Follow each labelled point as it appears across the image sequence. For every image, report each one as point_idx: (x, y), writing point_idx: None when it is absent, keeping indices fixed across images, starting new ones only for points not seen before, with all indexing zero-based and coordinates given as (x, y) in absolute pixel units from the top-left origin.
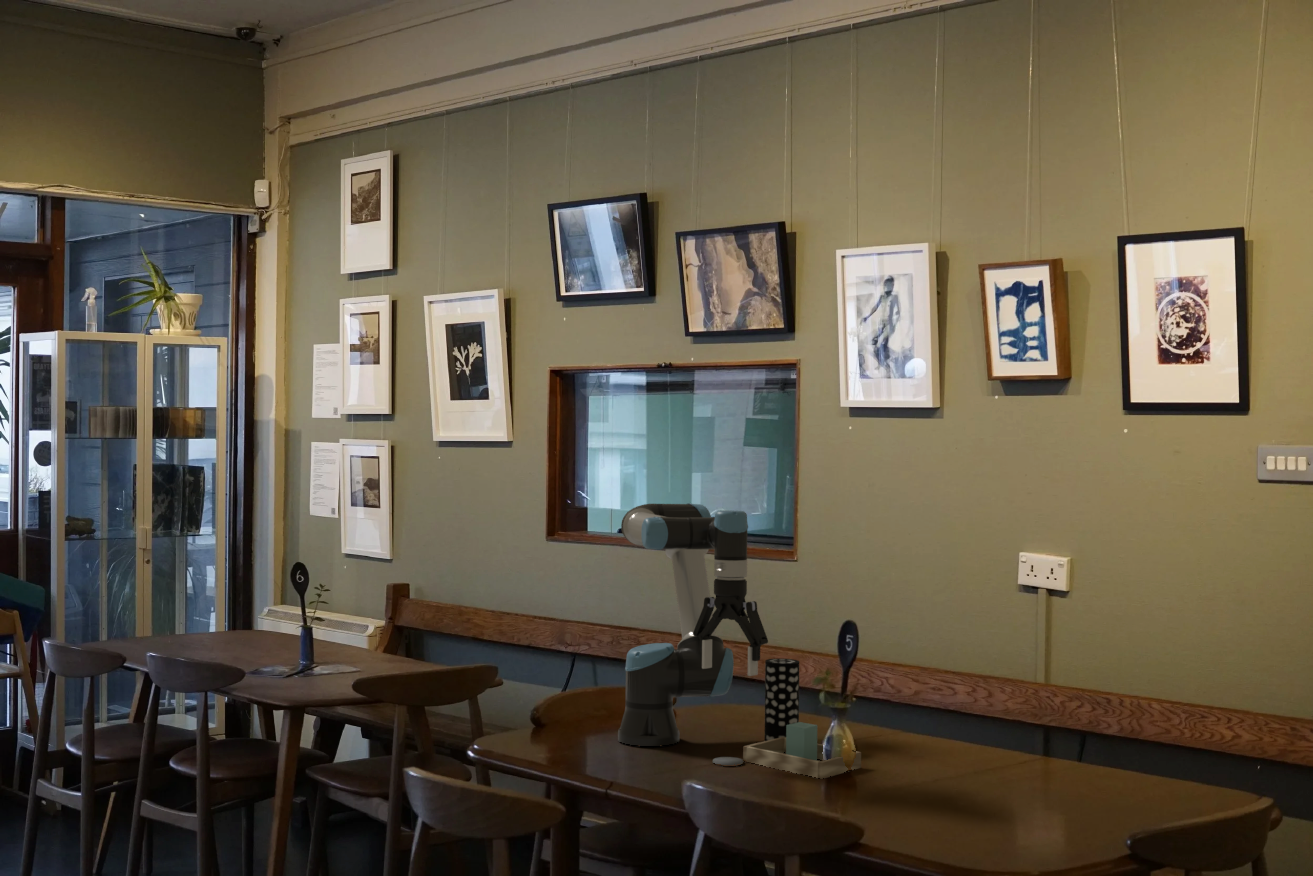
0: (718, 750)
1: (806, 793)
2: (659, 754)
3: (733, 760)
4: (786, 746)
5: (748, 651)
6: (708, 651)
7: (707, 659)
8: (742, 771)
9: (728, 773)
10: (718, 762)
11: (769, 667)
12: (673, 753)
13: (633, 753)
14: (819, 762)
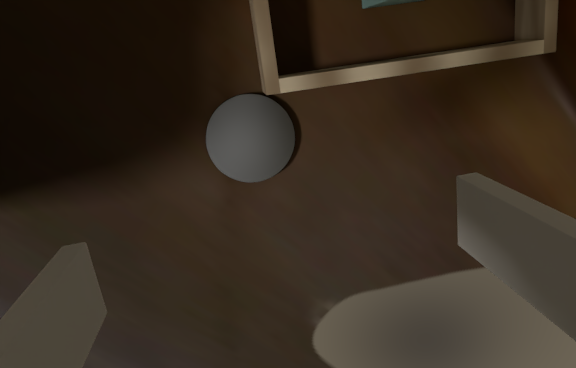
0: (94, 47)
1: (569, 176)
2: (51, 231)
3: (259, 126)
4: (381, 2)
5: (572, 331)
6: (53, 349)
7: (79, 319)
8: (340, 164)
9: (333, 206)
10: (253, 176)
11: None
12: (60, 191)
13: (2, 283)
14: (549, 52)
